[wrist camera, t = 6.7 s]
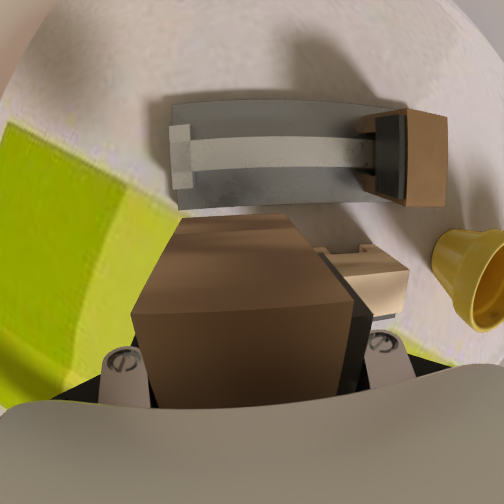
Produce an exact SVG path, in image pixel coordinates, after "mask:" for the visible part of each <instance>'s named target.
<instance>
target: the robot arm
mask: <svg viewBox="0 0 504 504" xmlns="http://www.w3.org/2000/svg"><path fill="white" fill-rule="evenodd" d="M0 504H504V367H502V366H499V365H494V364H470V365H462V366H457V367H453V368H452V367H450V366H446V365H443V364H440V363H436V362H433V361H430V360H426V359H423V358H420V357H417V356H413V355H410V354H407V352H406V349H405V347H404V344H403V342H402V340H401V339H400V337H398V336H397V335H396V334H394V333H392V332H390V331H386V330H379V329H377V330H371V331H370V335H369V339H368V343H367V348H366V352H365V356H364V360H363V364H362V368H361V372H360V376H359V379H358V383H357V386H356V390H355V393H350V394H344V395H339V396H333V397H328V398H321V399H315V400H308V401H301V402H293V403H285V404H275V405H265V406H253V407H238V408H214V409H167V408H159V407H158V404H157V401H156V398H155V395H154V392H153V390H152V387H151V384H150V381H149V378H148V374H147V371H146V368H145V365H144V362H143V358H142V355H141V352H140V348H139V345H138V341H137V337H136V334H135V336H134V339H133V341H132V344H131V346H124V347H120V348H117V349H114V350H112V351H111V352H109V353H108V354H107V355H106V356H105V357H104V359H103V362H102V369H101V374H100V375H98V376H96V377H94V378H92V379H90V380H88V381H86V382H84V383H82V384H80V385H78V386H76V387H74V388H72V389H70V390H68V391H66V392H63V393H61V394H59V395H57V396H55V397H54V398H52V399H51V400H39V401H32V402H26V403H22V404H18V405H16V406H13V407H11V408H10V409H8V410H7V411H6V412H5V413H3V415H2V416H1V417H0Z"/></svg>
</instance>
